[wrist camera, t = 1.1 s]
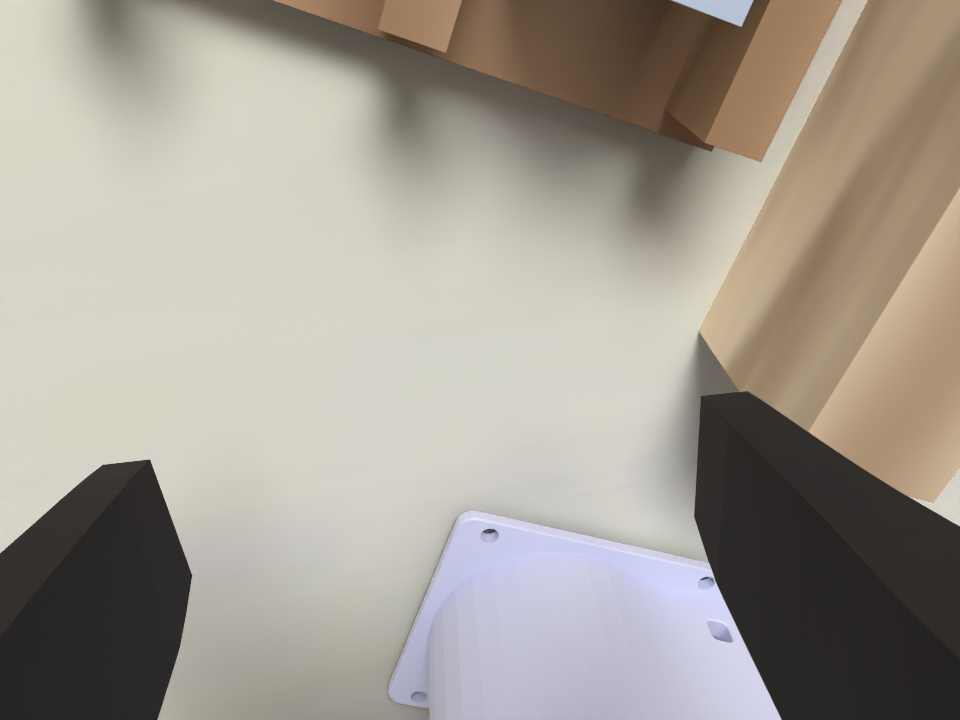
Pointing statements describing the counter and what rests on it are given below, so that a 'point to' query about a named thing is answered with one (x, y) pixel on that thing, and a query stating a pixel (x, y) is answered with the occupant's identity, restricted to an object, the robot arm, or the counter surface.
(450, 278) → the counter surface
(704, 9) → the blue slat
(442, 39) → the rack
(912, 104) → the wooden block
